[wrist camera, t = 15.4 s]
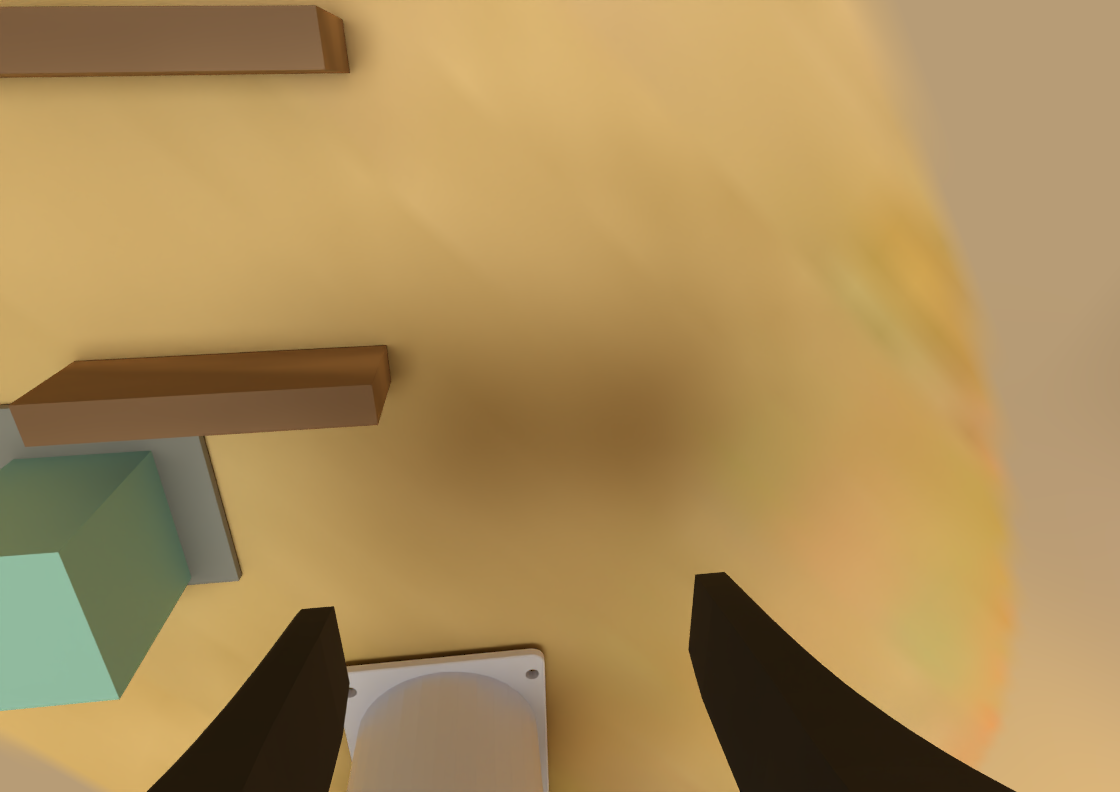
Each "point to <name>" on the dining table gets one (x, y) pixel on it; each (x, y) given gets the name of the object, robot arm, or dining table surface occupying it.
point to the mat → (183, 486)
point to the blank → (82, 575)
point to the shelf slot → (197, 380)
